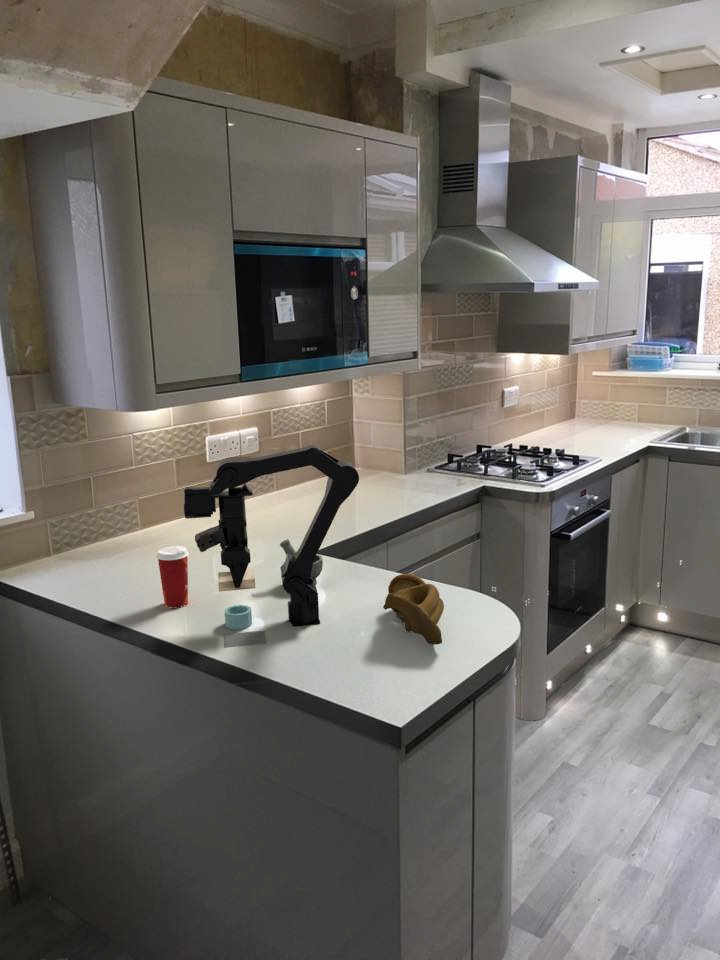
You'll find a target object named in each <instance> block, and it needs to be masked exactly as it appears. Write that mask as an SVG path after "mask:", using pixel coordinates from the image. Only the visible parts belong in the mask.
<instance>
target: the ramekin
mask: <svg viewBox="0 0 720 960" xmlns="http://www.w3.org/2000/svg"><path fill="white" fill-rule="evenodd" d="M252 613H253V612H252V607H251V606H249V605H246V604H245V605H244V604H236V605H235V604H234V605H232V606H231V605H230V606H228V607H227V608H225V609H224V621H225V627H226V628H227V629H230V630H233V631H234V630H235V631H236V630H244V629H247V628H249V627H251V626H252V624H253V615H252Z"/></svg>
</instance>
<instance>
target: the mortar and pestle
mask: <svg viewBox="0 0 720 960" xmlns="http://www.w3.org/2000/svg"><path fill="white" fill-rule="evenodd" d="M279 546H280V547H281V548H282V550H283V551H284V553H285V555H286V556H287V553H289V554H291V555H292V556H293V555H294V554H295V553H296V552H297V550H295V548H294V547H293V545H292V544H291V541H290V539H289V538H286V539H284V540H282V541H281V542H280V543H279ZM323 561H324V560H323V557H322V555H320V554H318V553H317V554H316V557H315V559H314V562H313V567H312V572H311V578H312V579H313V580H314V581H315V585H316V584H318V583H317V578H318V577H319V576H320V575H321V573H322V571H323V566H324V565H323V564H324V562H323ZM316 586H317V585H316Z"/></svg>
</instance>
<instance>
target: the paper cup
mask: <svg viewBox="0 0 720 960" xmlns="http://www.w3.org/2000/svg"><path fill="white" fill-rule="evenodd" d="M189 555H190V554H189V552H188V550H187V548H186V547H185V546H181V545H172V546H165V547H162V548H160V549H159V550H158V551H157V554H156V557H155V558H156V559H157V561H158V568H159V575H160V583H161V589H162V597H163V602H164V606H165V605H166V606H167V607H181V606H184V605H186V604H187V603H188V604H189V576H188V575H189V573H188V572H189V566H188V565H189V564H188V563H189V562H188V556H189ZM188 604H187V605H188ZM187 605H186V606H187ZM166 606H165V607H166ZM167 607H166V608H167ZM184 607H185V606H184ZM181 608H182V607H181Z"/></svg>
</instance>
